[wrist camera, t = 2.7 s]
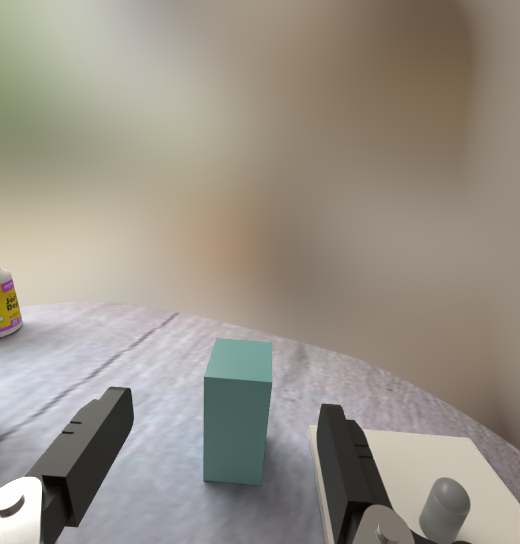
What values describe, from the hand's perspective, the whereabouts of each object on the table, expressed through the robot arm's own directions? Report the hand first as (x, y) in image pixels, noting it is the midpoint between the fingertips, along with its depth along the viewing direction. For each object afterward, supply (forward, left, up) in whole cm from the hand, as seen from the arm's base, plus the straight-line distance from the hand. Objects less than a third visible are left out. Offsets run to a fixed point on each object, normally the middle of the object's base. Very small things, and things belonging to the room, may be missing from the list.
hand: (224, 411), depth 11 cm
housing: (+8, +8, -18) cm, 21 cm away
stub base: (+16, -8, -18) cm, 25 cm away
